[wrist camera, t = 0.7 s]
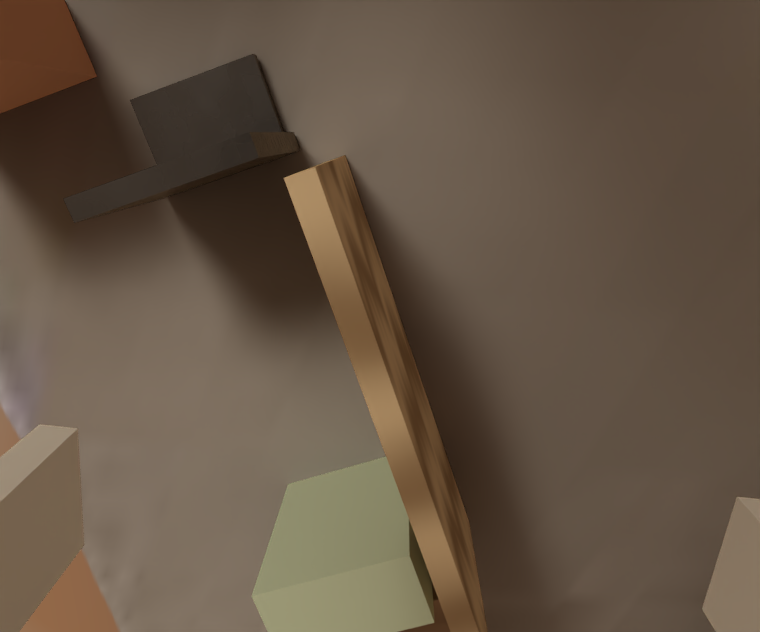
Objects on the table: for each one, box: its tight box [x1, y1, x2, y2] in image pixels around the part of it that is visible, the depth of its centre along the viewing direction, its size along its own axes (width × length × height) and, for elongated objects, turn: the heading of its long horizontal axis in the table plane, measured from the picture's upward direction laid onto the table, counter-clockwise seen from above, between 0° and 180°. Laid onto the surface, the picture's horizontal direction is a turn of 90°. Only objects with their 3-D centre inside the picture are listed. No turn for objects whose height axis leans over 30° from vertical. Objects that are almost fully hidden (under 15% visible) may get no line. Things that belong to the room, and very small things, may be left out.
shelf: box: [284, 155, 488, 632], centre depth 32 cm, size 25×11×12 cm, turn 18°
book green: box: [252, 457, 435, 632], centre depth 35 cm, size 4×8×10 cm, turn 108°
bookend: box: [64, 54, 300, 223], centre depth 29 cm, size 5×8×10 cm, turn 109°
